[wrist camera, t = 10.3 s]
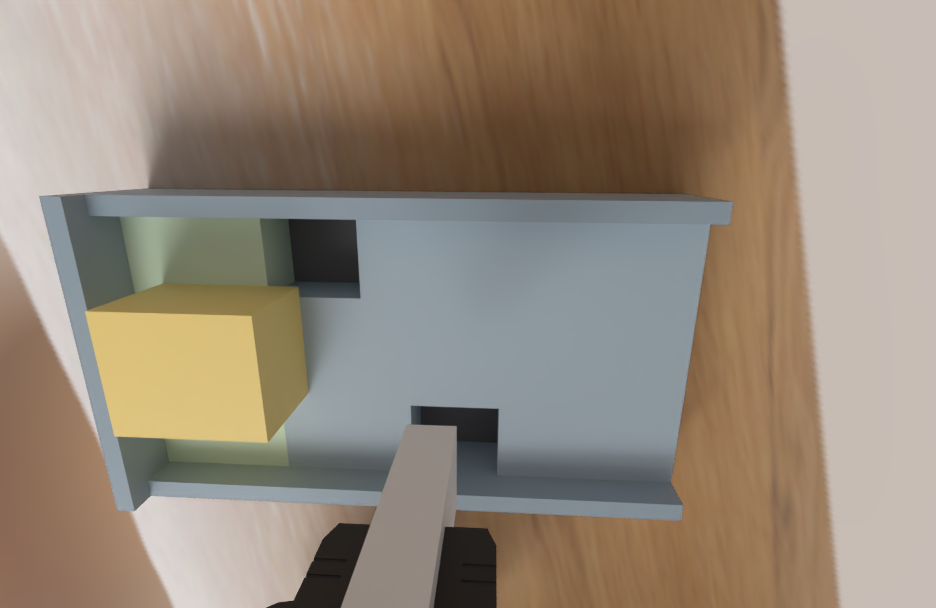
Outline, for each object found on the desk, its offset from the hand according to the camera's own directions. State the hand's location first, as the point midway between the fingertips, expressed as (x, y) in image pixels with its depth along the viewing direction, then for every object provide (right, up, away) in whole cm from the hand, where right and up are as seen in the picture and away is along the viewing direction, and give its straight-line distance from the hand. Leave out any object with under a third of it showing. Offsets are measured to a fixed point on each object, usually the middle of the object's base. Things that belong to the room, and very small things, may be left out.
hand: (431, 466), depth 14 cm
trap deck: (-1, +4, +9) cm, 10 cm away
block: (-9, +3, +7) cm, 12 cm away
